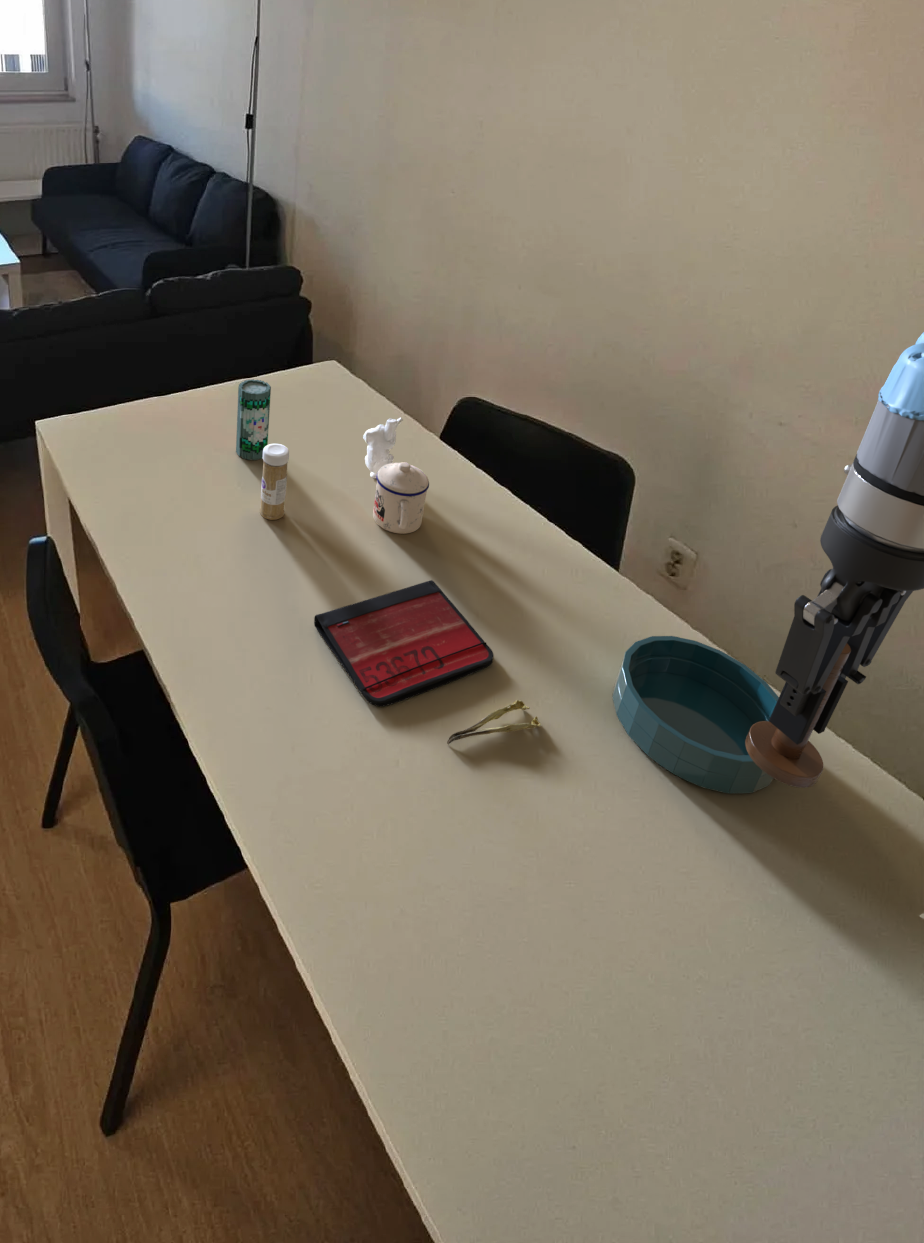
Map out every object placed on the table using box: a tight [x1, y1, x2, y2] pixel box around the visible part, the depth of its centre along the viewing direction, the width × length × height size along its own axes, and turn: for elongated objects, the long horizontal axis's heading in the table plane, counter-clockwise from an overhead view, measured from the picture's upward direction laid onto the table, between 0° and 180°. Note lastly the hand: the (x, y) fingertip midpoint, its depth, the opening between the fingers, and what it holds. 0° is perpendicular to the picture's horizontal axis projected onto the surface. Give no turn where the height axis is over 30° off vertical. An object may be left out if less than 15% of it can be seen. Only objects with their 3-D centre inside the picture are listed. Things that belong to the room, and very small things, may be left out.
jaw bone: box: [446, 699, 542, 745], centre depth 94 cm, size 4×13×2 cm, turn 114°
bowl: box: [612, 635, 779, 794], centre depth 95 cm, size 19×19×6 cm
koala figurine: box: [362, 417, 404, 479], centre depth 144 cm, size 8×7×12 cm
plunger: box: [745, 643, 851, 789], centre depth 69 cm, size 6×6×15 cm
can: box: [235, 378, 272, 461], centre depth 149 cm, size 6×6×15 cm
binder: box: [313, 579, 494, 708], centre depth 106 cm, size 16×2×21 cm
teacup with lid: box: [372, 461, 430, 535], centre depth 129 cm, size 12×9×12 cm
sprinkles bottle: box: [259, 443, 290, 521], centre depth 131 cm, size 5×5×13 cm
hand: (796, 725), depth 71 cm, fingers closed on plunger, 2 cm apart
